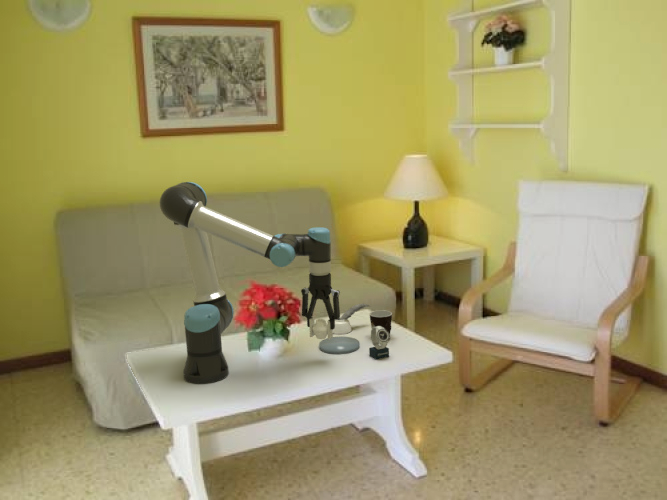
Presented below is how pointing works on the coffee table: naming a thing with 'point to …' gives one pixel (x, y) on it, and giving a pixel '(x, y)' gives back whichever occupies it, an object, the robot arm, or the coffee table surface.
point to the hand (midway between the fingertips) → (321, 336)
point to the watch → (379, 337)
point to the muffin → (320, 329)
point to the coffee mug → (381, 319)
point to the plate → (339, 345)
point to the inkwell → (342, 323)
